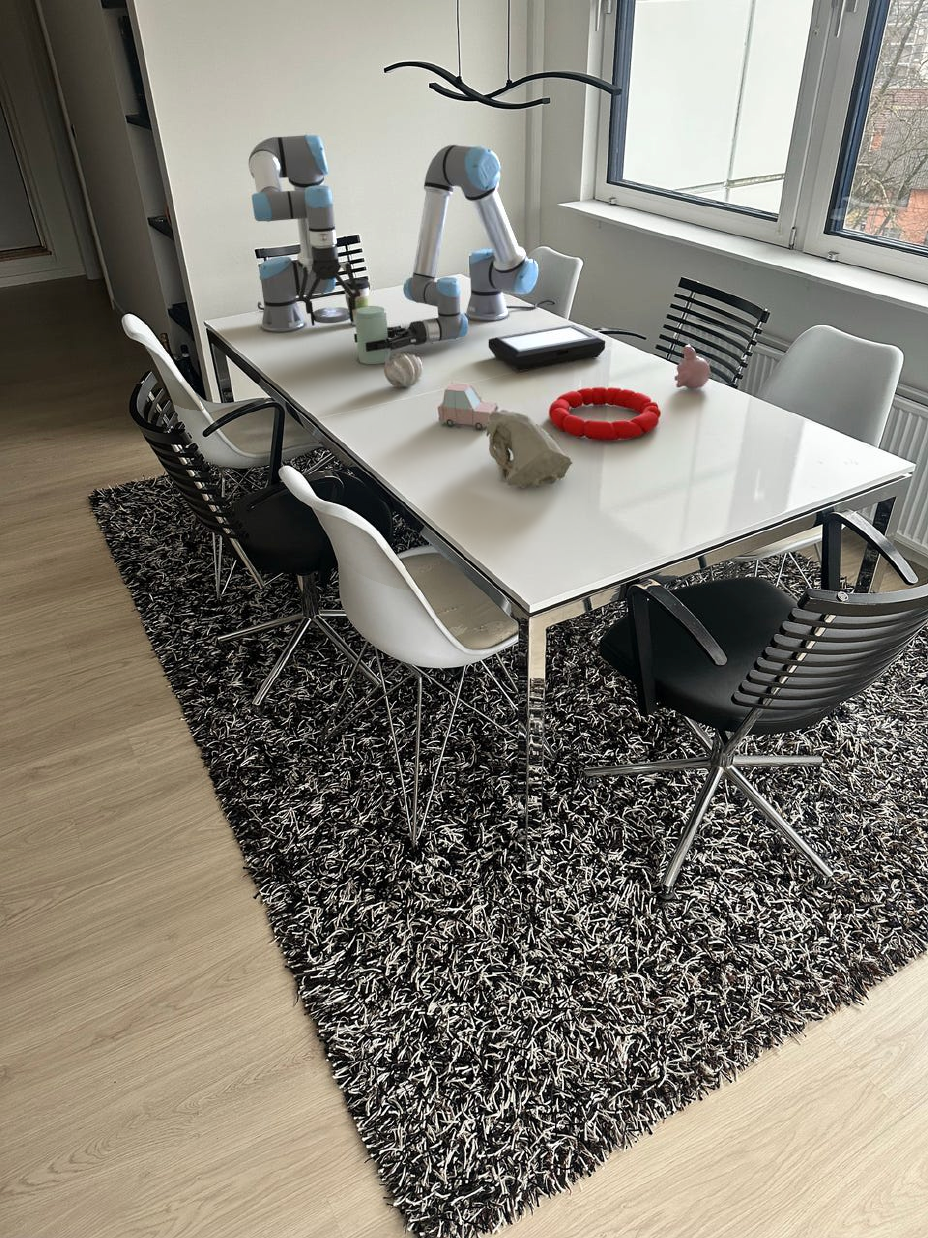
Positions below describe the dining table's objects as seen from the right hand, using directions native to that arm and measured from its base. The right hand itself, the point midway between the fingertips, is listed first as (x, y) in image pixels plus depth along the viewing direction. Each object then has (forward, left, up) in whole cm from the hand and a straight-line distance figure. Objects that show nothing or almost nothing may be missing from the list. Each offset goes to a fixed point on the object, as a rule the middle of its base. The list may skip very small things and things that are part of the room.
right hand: (360, 342), depth 288 cm
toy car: (+21, +62, -6) cm, 66 cm away
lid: (+16, +5, +14) cm, 22 cm away
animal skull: (+36, +91, -6) cm, 99 cm away
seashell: (+9, +28, -6) cm, 30 cm away
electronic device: (-37, +47, -6) cm, 61 cm away
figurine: (-38, +99, -6) cm, 106 cm away
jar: (-4, +2, -6) cm, 7 cm away
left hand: (+16, +5, +11) cm, 20 cm away
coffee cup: (-30, -31, -6) cm, 43 cm away
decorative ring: (-2, +92, -6) cm, 92 cm away
